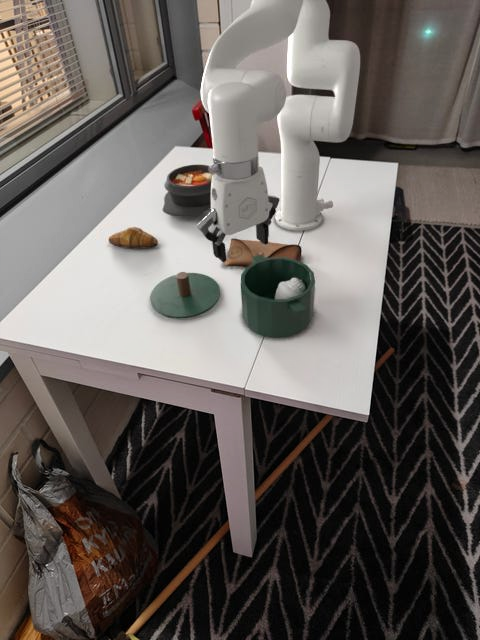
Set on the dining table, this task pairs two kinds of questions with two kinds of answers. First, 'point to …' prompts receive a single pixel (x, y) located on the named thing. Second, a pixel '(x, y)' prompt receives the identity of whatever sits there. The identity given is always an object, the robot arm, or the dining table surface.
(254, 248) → the sunglasses case
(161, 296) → the lid
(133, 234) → the croissant
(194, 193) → the casserole
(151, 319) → the dining table surface
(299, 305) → the pot
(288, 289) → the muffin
